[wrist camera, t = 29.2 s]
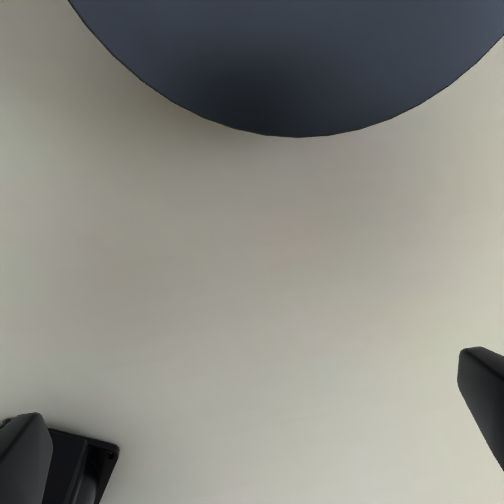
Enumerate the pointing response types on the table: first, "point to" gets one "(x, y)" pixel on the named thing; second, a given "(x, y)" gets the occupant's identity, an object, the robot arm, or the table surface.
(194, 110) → the lid
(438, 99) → the table surface
